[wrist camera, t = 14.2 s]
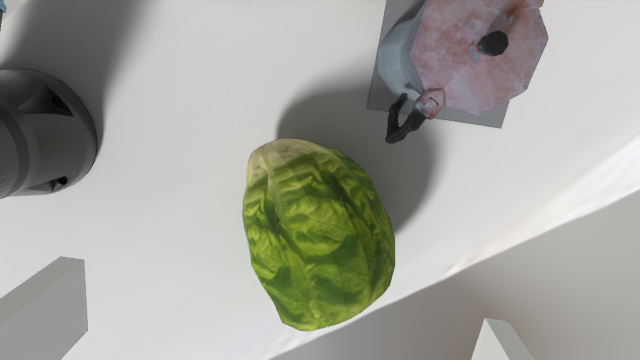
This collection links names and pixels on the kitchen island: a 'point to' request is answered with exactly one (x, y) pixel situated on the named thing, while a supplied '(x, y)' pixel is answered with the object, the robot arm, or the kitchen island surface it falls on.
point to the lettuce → (316, 233)
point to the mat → (399, 8)
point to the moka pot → (460, 58)
